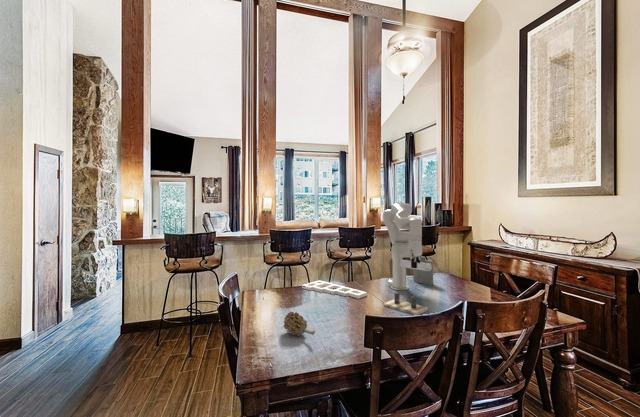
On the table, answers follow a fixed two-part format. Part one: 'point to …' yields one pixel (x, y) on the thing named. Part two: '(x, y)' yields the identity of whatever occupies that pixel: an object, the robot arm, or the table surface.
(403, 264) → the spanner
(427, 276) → the hip flask
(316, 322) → the table surface
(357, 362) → the table surface
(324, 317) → the table surface
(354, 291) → the holder
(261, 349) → the table surface
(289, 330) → the pine cone
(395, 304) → the peg board
